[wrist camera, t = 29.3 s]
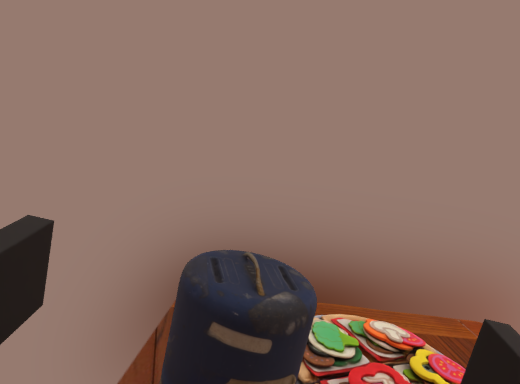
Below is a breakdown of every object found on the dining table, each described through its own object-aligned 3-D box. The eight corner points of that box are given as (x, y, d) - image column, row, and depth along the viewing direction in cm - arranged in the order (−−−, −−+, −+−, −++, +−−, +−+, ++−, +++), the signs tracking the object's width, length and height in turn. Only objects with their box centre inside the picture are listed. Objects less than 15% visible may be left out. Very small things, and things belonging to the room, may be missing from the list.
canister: (268, 443, 40) (320, 249, 36) (265, 551, 30) (334, 305, 26) (159, 418, 39) (199, 222, 36) (123, 519, 30) (171, 268, 26)
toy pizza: (383, 503, 41) (397, 462, 40) (236, 332, 63) (242, 303, 62) (539, 432, 56) (551, 401, 55) (376, 314, 78) (383, 291, 77)
